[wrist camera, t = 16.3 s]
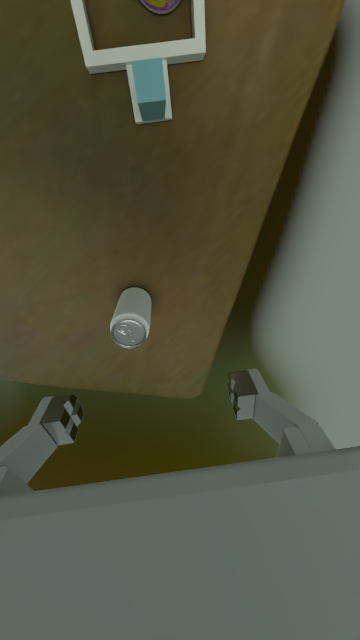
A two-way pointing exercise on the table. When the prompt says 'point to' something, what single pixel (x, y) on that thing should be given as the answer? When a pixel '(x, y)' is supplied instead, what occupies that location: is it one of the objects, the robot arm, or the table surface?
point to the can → (131, 318)
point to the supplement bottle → (160, 5)
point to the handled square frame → (144, 62)
